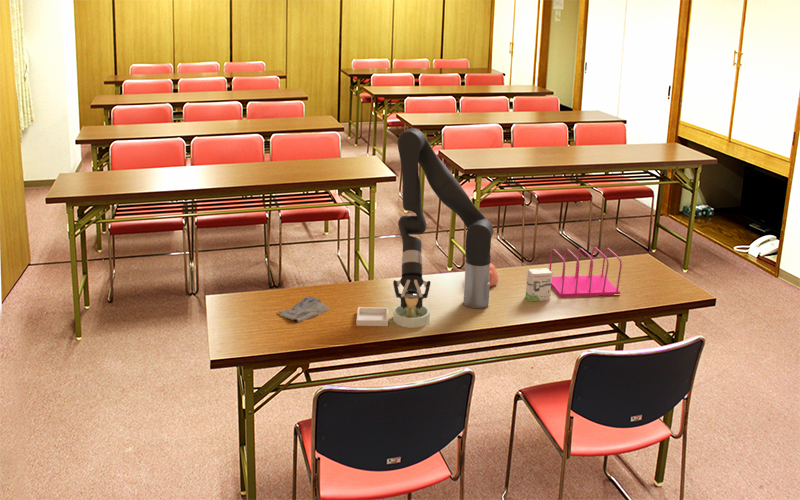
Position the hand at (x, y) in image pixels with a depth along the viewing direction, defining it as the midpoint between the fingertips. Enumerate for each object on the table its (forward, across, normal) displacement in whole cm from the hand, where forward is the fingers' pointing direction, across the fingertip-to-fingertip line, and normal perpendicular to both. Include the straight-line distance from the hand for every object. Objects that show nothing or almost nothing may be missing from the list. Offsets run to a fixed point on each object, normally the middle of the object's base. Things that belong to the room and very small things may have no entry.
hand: (411, 308), depth 255 cm
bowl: (+3, 0, +5) cm, 6 cm away
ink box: (-12, +50, +21) cm, 56 cm away
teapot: (-24, +30, +33) cm, 50 cm away
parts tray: (+3, -14, +5) cm, 15 cm away
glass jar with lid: (+1, 0, +4) cm, 4 cm away
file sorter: (-20, +70, +30) cm, 79 cm away
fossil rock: (-2, -40, +11) cm, 42 cm away
